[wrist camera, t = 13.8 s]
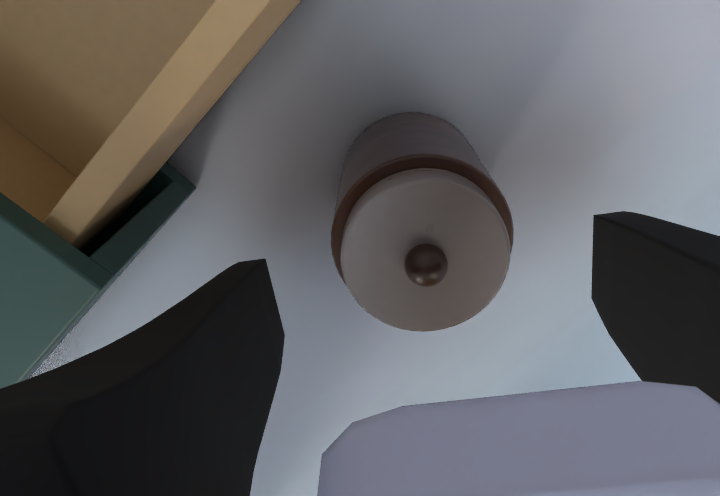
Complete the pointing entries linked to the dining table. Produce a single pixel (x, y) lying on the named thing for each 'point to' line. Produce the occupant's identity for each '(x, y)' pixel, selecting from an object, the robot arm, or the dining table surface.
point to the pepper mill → (419, 225)
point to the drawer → (111, 96)
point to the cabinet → (67, 271)
